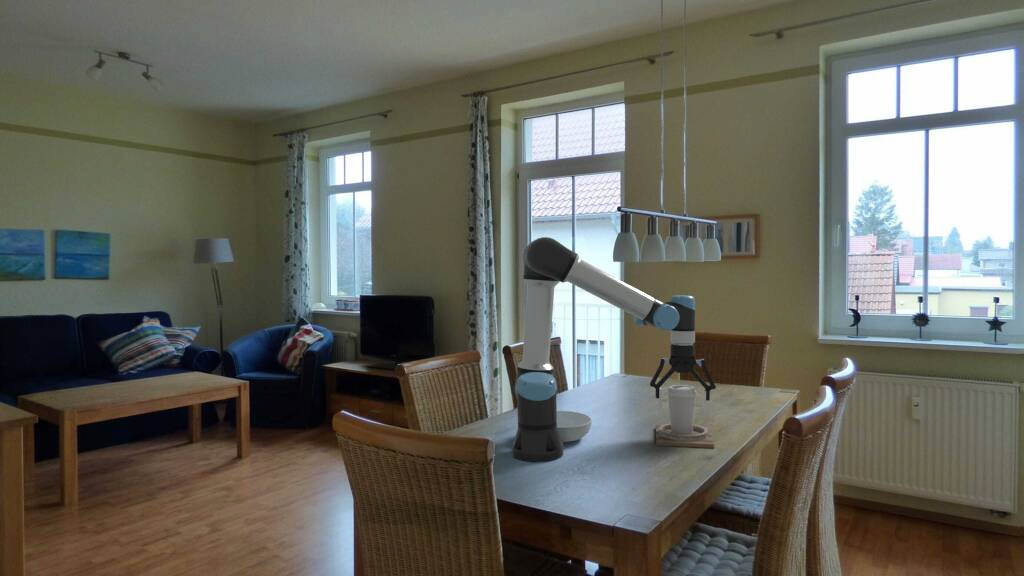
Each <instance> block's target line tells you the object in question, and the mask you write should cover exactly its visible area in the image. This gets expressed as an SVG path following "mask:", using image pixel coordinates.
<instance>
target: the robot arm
mask: <svg viewBox="0 0 1024 576" xmlns="http://www.w3.org/2000/svg"><path fill="white" fill-rule="evenodd" d="M523 263H524V264H523V276H522V279H523V280H522V281H524V283H525V284H526V286H527V289H526V290H527V291H526V302H525V303H526V304H525V314H524V315H525V317H524V319H525V320H524V330H523V331H524V333H523V348H522V360H521V361H520V362H519V363H518V364H516V365H517V366H516V378H515V383H514V394H515V397H516V404H517V409H516V410H517V429H516V433H515V436H514V440H513V444H512V448H511V452H512V453H511V455H512V454H513V455H512V456H513V458H515V457H516V458H515V459H517V458H518V460H520V459H521V461H524V460H525V461H526V462H533V461H539V462H541V461H542V462H548V461H555V460H557V459H560V458H562V457H563V456H564V446H563V443H562V442H561V439H560V436H559V433H558V430H557V411H558V410H557V391H558V390H557V389H558V385H557V380H556V378H555V377H554V366H553V365H552V364H551V362H550V354H551V339H552V327H553V326H552V325H553V311H554V295H555V288H556V286H557V285H558V284H560V283H562V284H564V283H570V284H572V285H574V286H575V287H577V288H579V289H581V290H583V291H585V292H588V294H591V295H593V296H595V297H597V298H599V299H600V300H603V301H604V302H607V303H609V304H610V305H612V306H613V307H616V308H618V309H620V310H622V311H624V312H626V313H628V314H630V315H631V316H632V319H633V324H634V325H636V326H642V327H644V326H649V327H653V328H656V329H658V330H660V331H670V342H671V344H670V352H669V354H670V355H669V356H670V357H669V358H664V357H660V362H659V366H658V367H657V368H656V371H655V372H654V375H653V376H652V378H651V380H650V383H649V386H650V387H652V388H654V389H655V398H656V399H659V400H658V402H659V404H658V408H659V410H663V409H662V407H663V406H662V405H663V398H662V397H663V396H662V394H663V393H662V392H663V389H662V388H663V387H662V386H663V385H664V384H665V382H666V381H668V379H669V378H670V377H671V376H672V375H673V374H674V373H675V372H676V373H677V374H681V373H682V374H683V373H684V374H689V373H690V374H692V375H693V377H694V378H695V379H696V380H697V381H698V382H699V383H700V384H701V386H702V387H703V389H702V411H703V412H705V413H706V412H707V401H710V398H711V397H710V393H711V391H712V390H716V388H717V386H716V385H715V382H714V381H713V378H712V376H711V375H710V372H709V371H708V369H707V366H706V361H705V358H700V359H696V358H695V357H696V356H695V355H696V346H695V343H696V329H695V328H696V300H695V297H694V296H693V295H687V294H686V295H679V294H677V295H672V296H671V297H670V300H669V301H661V300H658V299H656V298H654V297H653V296H651V295H649V294H647V293H646V292H644V291H641V290H640V289H638V288H636V287H634V286H632V285H630V284H629V283H626V282H625V281H623V280H620V278H617V277H615V276H613V275H611V274H609V273H607V272H606V271H604V270H601V269H600V268H598V267H596V266H594V265H592V264H590V263H589V262H586V261H584V260H583V259H581V258H580V256H579V253H577V252H575V251H573V250H572V249H569V248H568V247H566V246H564V244H562V243H561V242H559V241H557V240H556V239H554V238H552V237H548V236H545V237H539V238H536V239H534V240H532V241H531V242H530V243H529V244H528V245H527V246H526V247H525V249H524V251H523ZM667 364H669V365H670V368H669V369H668V370H667V372H666V373H665V374H664V375H663V376H662V377H661V378H660V379H659V380H658V378H659V376H660V374H661V373H662V371H663V369H664V367H665V366H667ZM696 364H698V366H699V367H701V369H702V370H703V372H704V375H705V378H706V379H707V381H708V384H709V385H708V384H707V383H706V381H705V380H704V379H703V378H702V376H700V374H699V373H698V372H697V371H696V369H694V368H695V367H696ZM657 380H658V381H657ZM539 462H538V463H539Z"/></svg>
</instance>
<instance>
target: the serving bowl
mask: <svg viewBox="0 0 1024 576" xmlns="http://www.w3.org/2000/svg"><path fill="white" fill-rule="evenodd" d="M591 426H592V418H591V417H590V416H589V415H588V414H585V413H582V412H578V411H570V410H557V430H558V433H559V436H560V439H561V442H566V443H569V442H574V441H579V440H580V439H582V438H584V437H585V436H586V435H588V433H589V431H590V430H591Z"/></svg>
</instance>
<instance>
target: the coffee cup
mask: <svg viewBox="0 0 1024 576" xmlns="http://www.w3.org/2000/svg"><path fill="white" fill-rule="evenodd" d="M666 395H667V398H668V400H667V401H668V410H669V420H670V423H671V431H672V433H673V434H679V435H693V424H695V423H694V420H695V409H696V408H695V407H696V400H697V399H696V397H697V396H698V393H697V390H696V388H695V386H692V385H684V384H678V385H677V384H675V385H670V386H668V389H667V391H666Z"/></svg>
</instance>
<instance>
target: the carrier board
mask: <svg viewBox="0 0 1024 576" xmlns="http://www.w3.org/2000/svg"><path fill="white" fill-rule="evenodd" d="M655 436H656V437H655V441H656V443H655V444H656V446H660V447H661V446H665V447H682V448H704V449H705V448H706V449H715V442H714V440H713V436H712V434H711V430H710V429H709V426H702V425H699V424H695V423H693V435H679V434H673V433H672V431H671V422H670V423H665V424H655Z"/></svg>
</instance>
